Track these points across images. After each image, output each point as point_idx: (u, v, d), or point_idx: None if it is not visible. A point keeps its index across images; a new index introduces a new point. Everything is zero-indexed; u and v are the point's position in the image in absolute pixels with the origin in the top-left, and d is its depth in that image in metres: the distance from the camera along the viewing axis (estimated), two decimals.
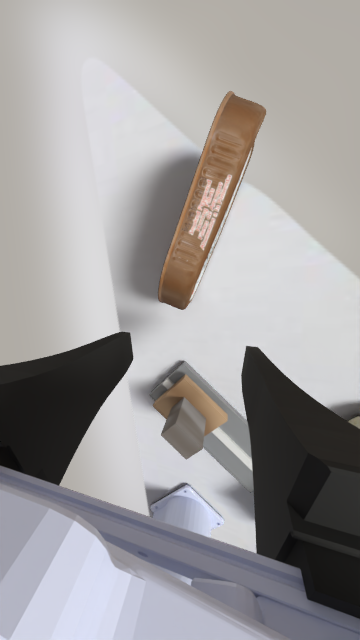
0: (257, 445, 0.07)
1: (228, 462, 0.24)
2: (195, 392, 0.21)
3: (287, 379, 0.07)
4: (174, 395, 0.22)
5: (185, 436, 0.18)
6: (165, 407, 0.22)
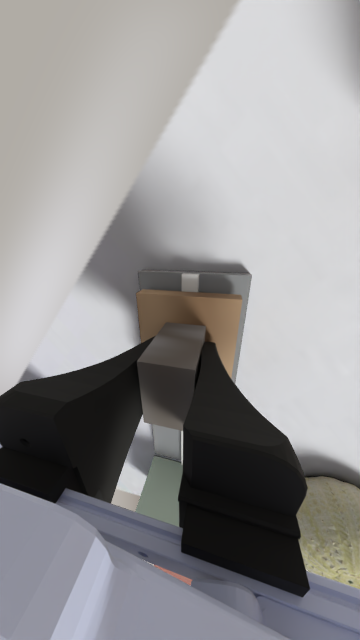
0: None
1: None
2: (231, 334, 0.10)
3: (223, 370, 0.07)
4: (192, 310, 0.10)
5: (185, 399, 0.08)
6: (156, 313, 0.11)
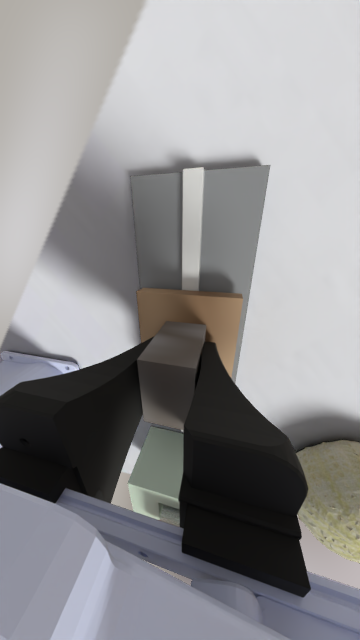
0: None
1: None
2: (232, 333, 0.10)
3: (223, 370, 0.07)
4: (193, 308, 0.10)
5: (185, 398, 0.07)
6: (156, 312, 0.11)
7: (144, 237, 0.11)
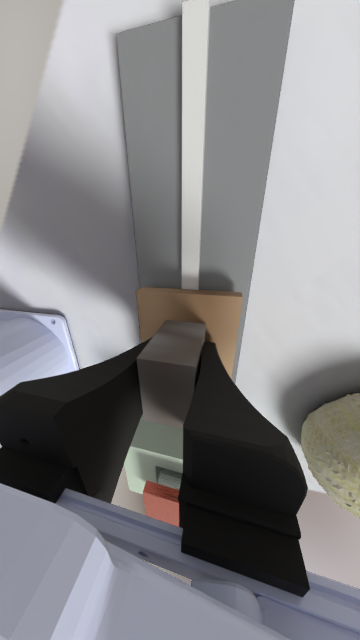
0: None
1: None
2: (232, 332, 0.10)
3: (223, 370, 0.07)
4: (192, 307, 0.10)
5: (185, 396, 0.07)
6: (156, 311, 0.11)
7: (135, 125, 0.09)
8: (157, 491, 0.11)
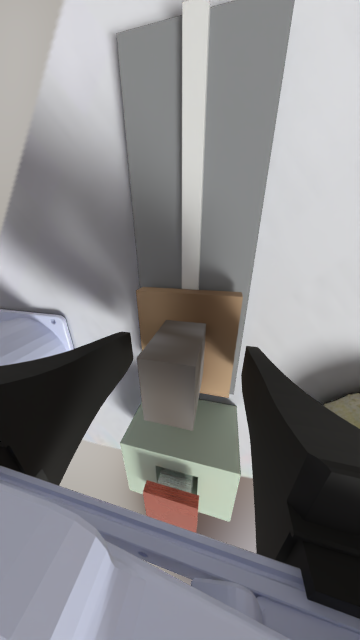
0: (257, 445, 0.07)
1: None
2: (232, 332, 0.10)
3: (287, 379, 0.07)
4: (193, 307, 0.10)
5: (185, 396, 0.07)
6: (156, 311, 0.11)
7: (136, 125, 0.09)
8: (157, 491, 0.11)
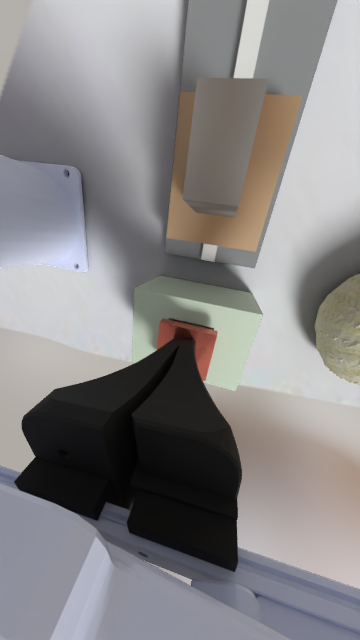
0: None
1: None
2: (279, 152, 0.09)
3: (193, 365, 0.07)
4: None
5: (243, 141, 0.07)
6: None
7: None
8: (174, 323, 0.11)
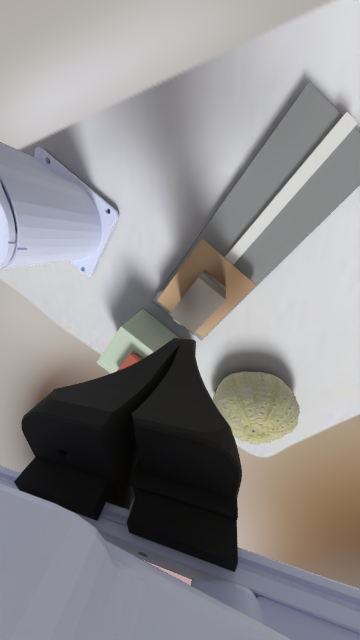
0: None
1: None
2: (235, 301, 0.16)
3: (193, 365, 0.07)
4: (226, 272, 0.15)
5: (206, 312, 0.13)
6: (203, 260, 0.15)
7: (276, 142, 0.13)
8: (138, 358, 0.17)
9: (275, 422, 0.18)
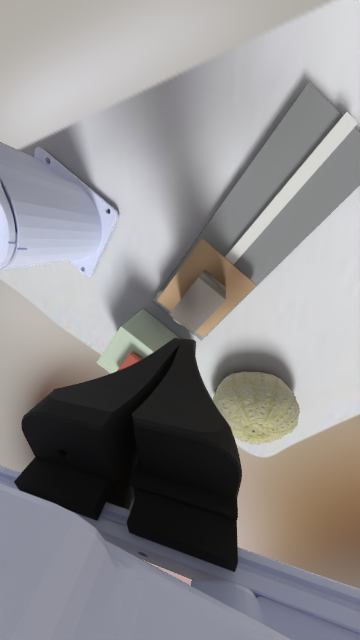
0: None
1: None
2: (235, 301, 0.16)
3: (193, 365, 0.07)
4: (226, 272, 0.15)
5: (206, 312, 0.13)
6: (203, 260, 0.15)
7: (276, 142, 0.13)
8: (138, 358, 0.17)
9: (275, 422, 0.18)
